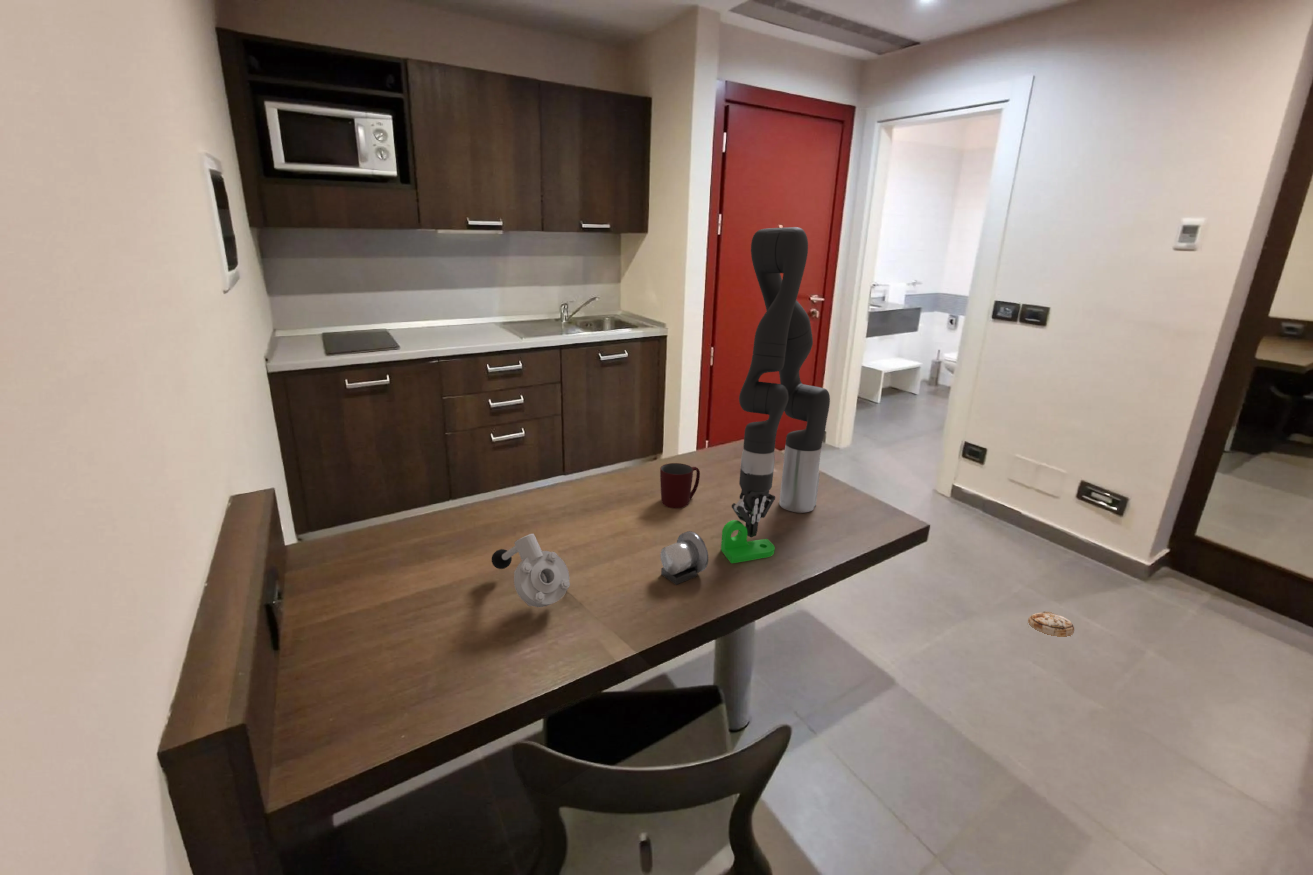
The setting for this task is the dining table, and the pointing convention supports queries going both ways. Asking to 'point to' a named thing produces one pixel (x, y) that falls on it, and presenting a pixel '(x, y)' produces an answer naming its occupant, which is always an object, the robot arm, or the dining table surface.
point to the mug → (677, 484)
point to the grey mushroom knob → (684, 558)
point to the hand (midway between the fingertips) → (750, 535)
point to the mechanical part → (743, 544)
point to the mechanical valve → (535, 572)
